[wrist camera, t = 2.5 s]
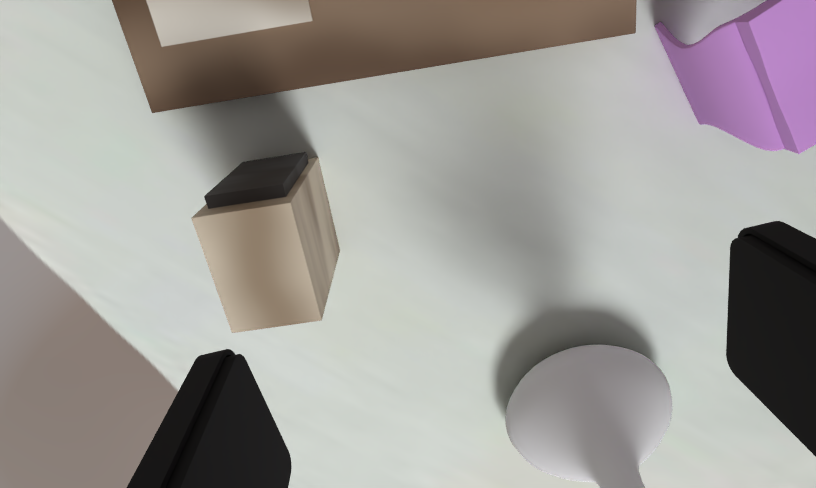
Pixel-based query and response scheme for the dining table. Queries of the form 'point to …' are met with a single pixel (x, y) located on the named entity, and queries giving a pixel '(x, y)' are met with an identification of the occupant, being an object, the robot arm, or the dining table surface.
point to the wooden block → (270, 242)
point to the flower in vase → (591, 414)
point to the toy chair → (754, 75)
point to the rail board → (337, 39)
